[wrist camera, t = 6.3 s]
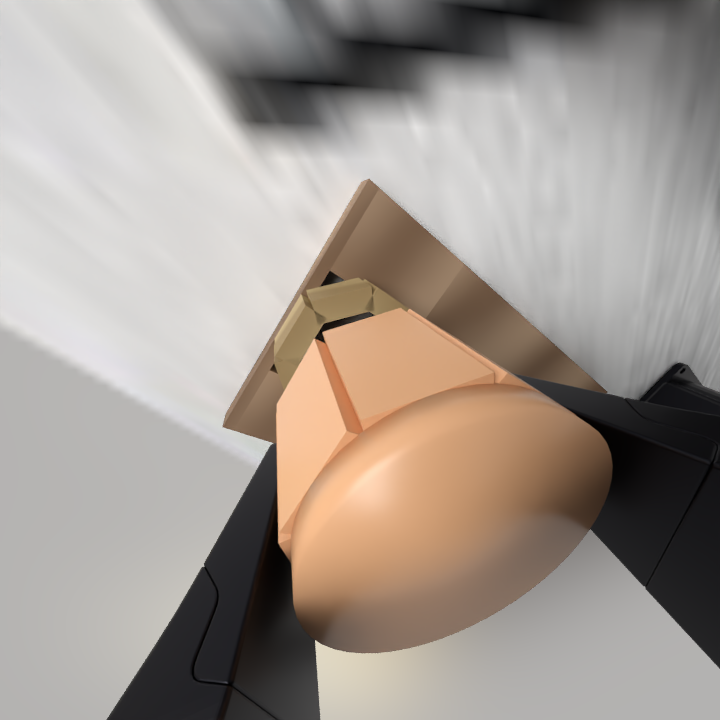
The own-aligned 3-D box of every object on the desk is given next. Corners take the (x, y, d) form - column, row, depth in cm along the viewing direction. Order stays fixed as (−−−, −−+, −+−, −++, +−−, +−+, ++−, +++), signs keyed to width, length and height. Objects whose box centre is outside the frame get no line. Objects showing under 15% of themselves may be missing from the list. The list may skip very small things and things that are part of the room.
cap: (469, 442, 11) (584, 571, 7) (317, 502, 10) (346, 686, 6) (463, 288, 8) (651, 355, 4) (249, 354, 7) (221, 519, 3)
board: (593, 384, 21) (636, 406, 18) (484, 501, 23) (509, 534, 21) (361, 181, 11) (385, 171, 9) (225, 414, 14) (216, 454, 12)
